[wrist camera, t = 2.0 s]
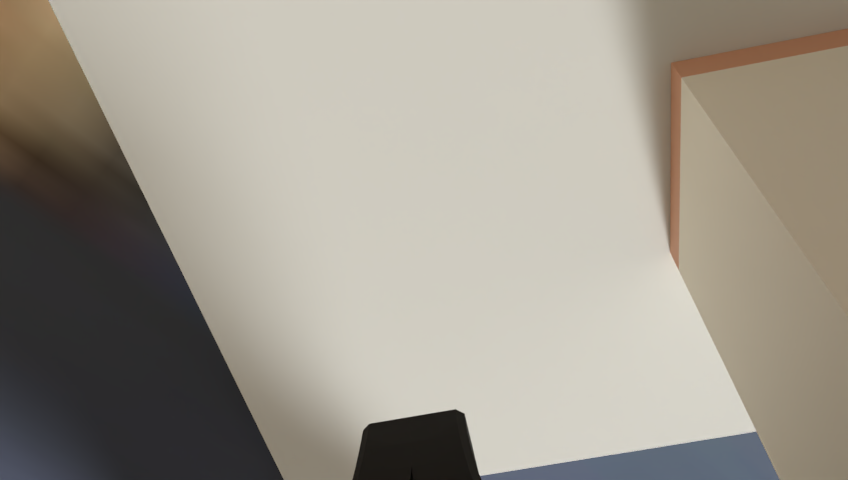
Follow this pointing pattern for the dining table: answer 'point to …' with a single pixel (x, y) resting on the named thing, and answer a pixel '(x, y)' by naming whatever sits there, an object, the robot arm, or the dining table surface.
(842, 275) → the block
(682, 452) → the dining table surface
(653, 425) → the mat
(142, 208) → the dining table surface
